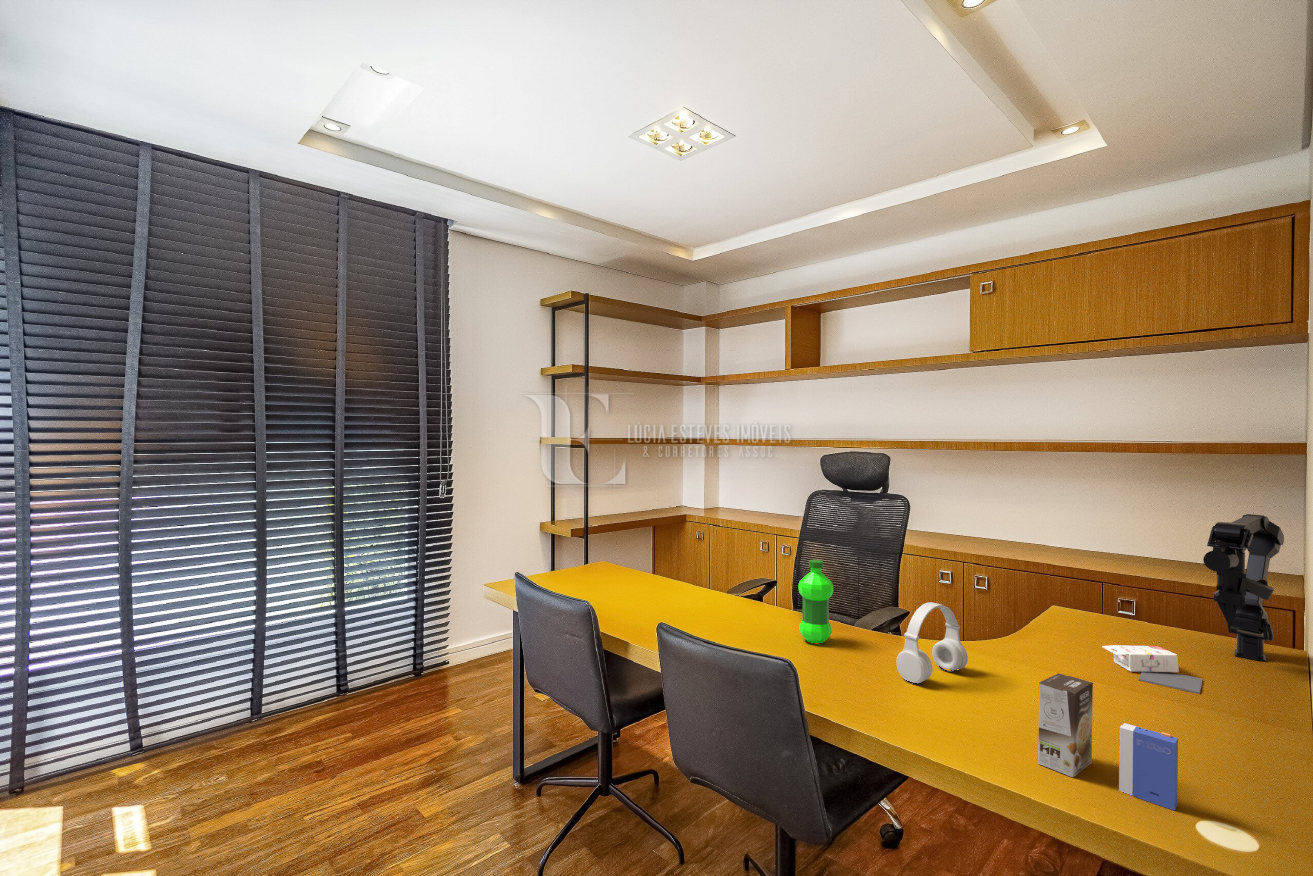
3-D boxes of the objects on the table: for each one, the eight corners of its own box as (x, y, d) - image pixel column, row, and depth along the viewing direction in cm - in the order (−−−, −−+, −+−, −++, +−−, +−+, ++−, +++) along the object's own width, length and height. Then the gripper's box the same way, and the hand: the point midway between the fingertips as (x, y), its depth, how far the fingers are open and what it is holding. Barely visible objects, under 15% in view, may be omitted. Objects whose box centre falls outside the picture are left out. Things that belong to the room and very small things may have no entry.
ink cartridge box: (1160, 663, 172) (1101, 662, 175) (1158, 645, 172) (1100, 644, 175) (1179, 673, 164) (1117, 671, 166) (1178, 654, 164) (1116, 653, 167)
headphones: (922, 689, 155) (923, 613, 154) (894, 678, 162) (895, 605, 162) (969, 673, 165) (969, 602, 165) (940, 663, 172) (941, 595, 172)
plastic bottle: (821, 649, 183) (821, 566, 183) (791, 640, 190) (792, 560, 190) (839, 642, 189) (839, 561, 189) (809, 633, 197) (810, 556, 197)
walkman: (1177, 804, 107) (1178, 736, 107) (1174, 811, 105) (1175, 741, 105) (1121, 785, 112) (1122, 720, 112) (1118, 791, 111) (1118, 725, 110)
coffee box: (1074, 779, 114) (1075, 693, 114) (1037, 764, 119) (1037, 682, 119) (1092, 763, 120) (1093, 682, 120) (1056, 750, 125) (1057, 671, 125)
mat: (1144, 668, 170) (1144, 666, 170) (1202, 680, 161) (1202, 678, 161) (1138, 680, 161) (1138, 678, 161) (1199, 694, 153) (1199, 692, 153)
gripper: (1272, 578, 159) (1271, 638, 159) (1271, 567, 172) (1270, 623, 172) (1214, 571, 166) (1213, 628, 166) (1217, 561, 180) (1216, 614, 180)
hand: (1230, 623), depth 171 cm, fingers closed
